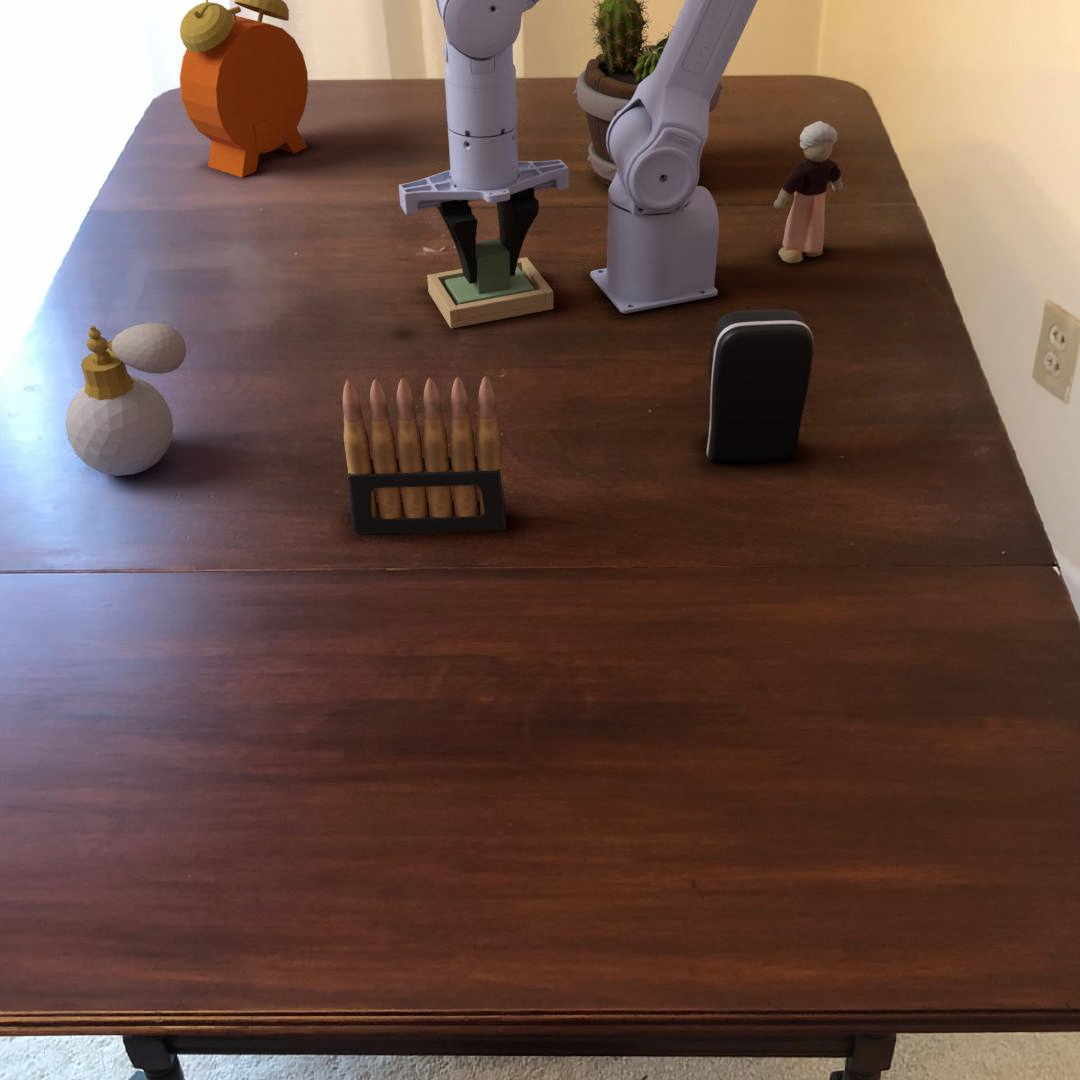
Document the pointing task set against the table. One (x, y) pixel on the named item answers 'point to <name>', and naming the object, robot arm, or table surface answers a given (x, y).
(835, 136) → the grandmother figurine
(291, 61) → the alarm clock
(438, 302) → the socket pad
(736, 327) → the battery charger
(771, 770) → the table surface
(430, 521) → the ammunition clip
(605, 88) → the flowerpot
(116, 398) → the perfume bottle
